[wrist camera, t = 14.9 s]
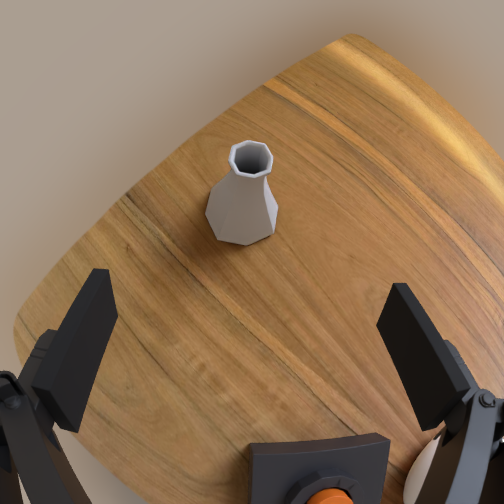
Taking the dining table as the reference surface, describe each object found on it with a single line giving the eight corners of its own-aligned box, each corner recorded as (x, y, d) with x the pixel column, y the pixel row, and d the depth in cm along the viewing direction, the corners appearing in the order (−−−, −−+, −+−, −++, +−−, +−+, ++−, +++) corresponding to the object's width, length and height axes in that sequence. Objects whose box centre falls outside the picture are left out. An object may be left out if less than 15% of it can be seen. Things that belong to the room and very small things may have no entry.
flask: (271, 176, 33) (290, 117, 23) (283, 242, 31) (311, 200, 21) (201, 182, 32) (196, 122, 22) (209, 250, 30) (203, 210, 20)
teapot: (413, 541, 22) (456, 576, 12) (349, 515, 24) (392, 564, 13) (506, 410, 28) (562, 415, 18) (463, 362, 29) (530, 361, 19)
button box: (246, 528, 23) (251, 554, 18) (249, 442, 26) (255, 462, 21) (363, 514, 24) (382, 533, 19) (376, 432, 27) (400, 445, 22)
